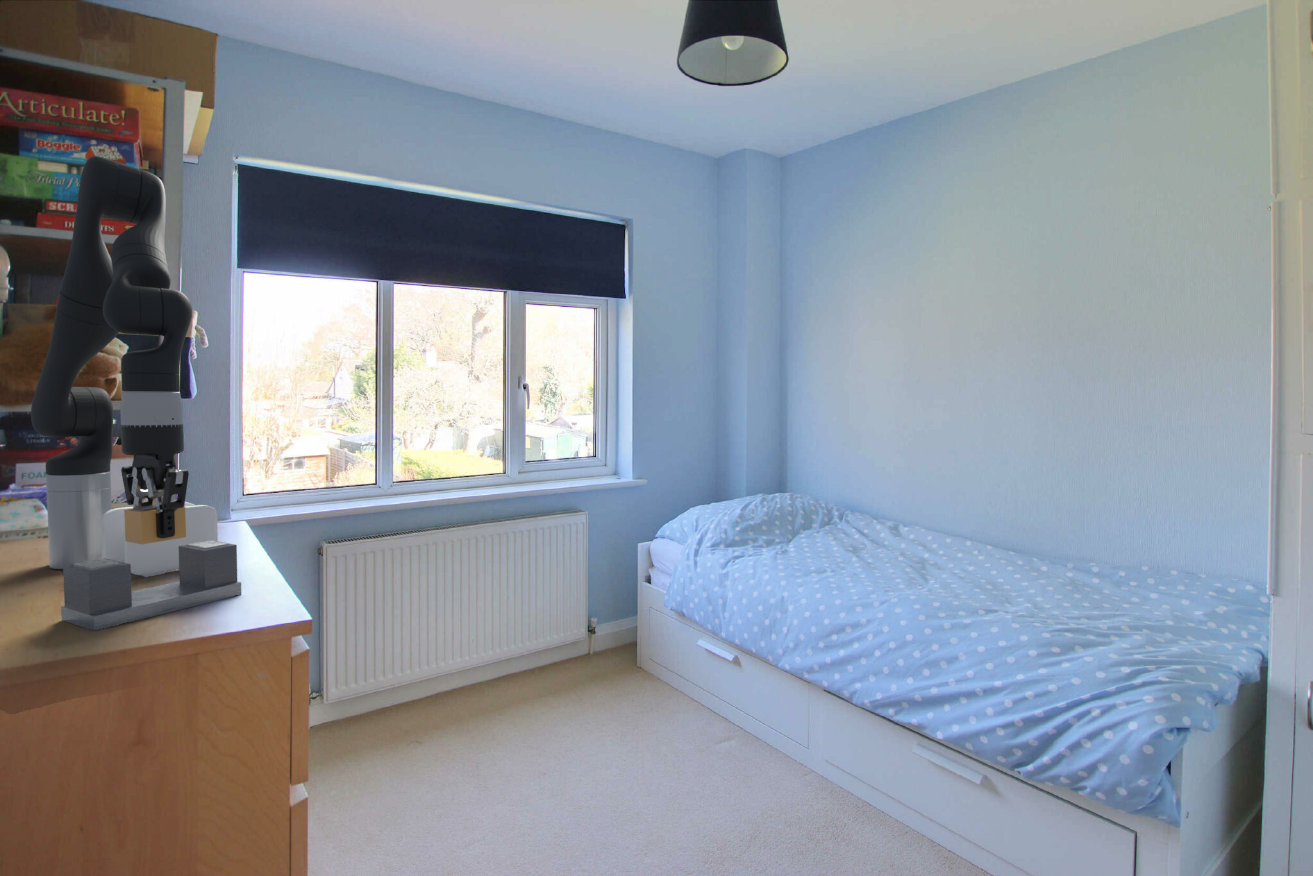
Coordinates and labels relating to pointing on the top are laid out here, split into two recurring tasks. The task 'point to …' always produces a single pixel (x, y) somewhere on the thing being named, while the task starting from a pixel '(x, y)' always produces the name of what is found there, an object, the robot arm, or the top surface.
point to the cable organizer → (156, 554)
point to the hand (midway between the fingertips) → (156, 535)
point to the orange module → (150, 525)
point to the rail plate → (107, 600)
